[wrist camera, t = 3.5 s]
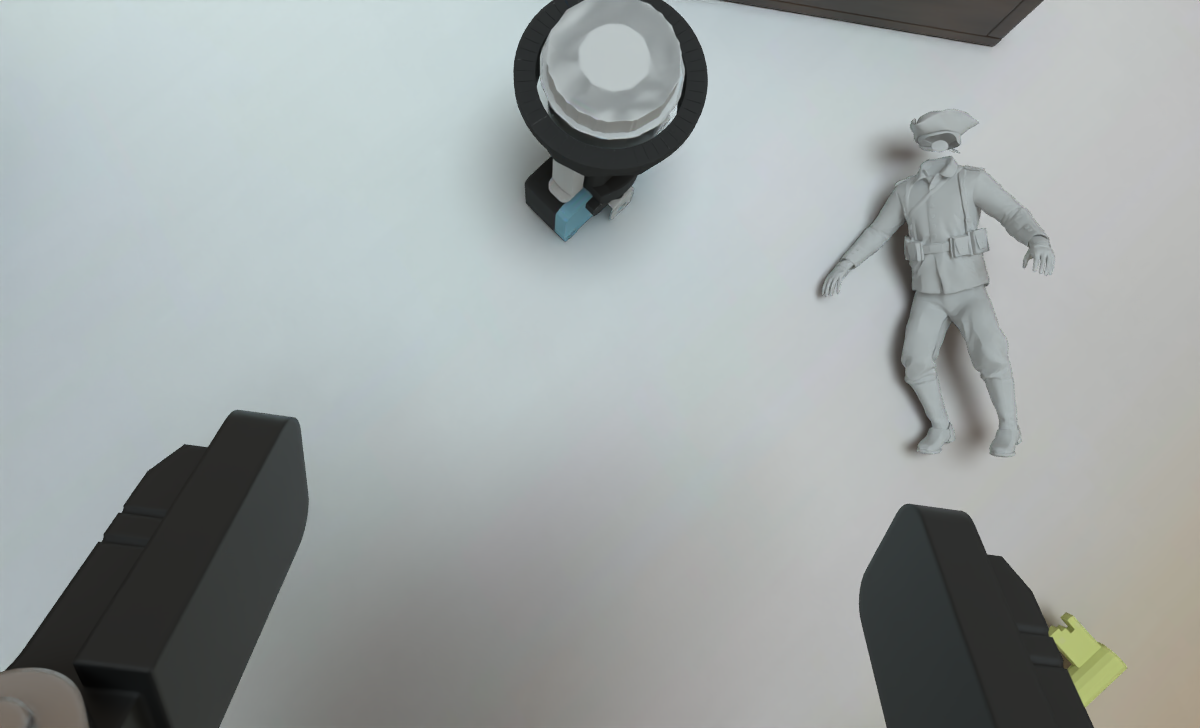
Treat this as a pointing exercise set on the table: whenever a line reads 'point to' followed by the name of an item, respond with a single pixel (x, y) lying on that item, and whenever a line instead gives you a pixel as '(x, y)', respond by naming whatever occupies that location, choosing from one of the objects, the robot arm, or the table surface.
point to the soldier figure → (951, 272)
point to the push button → (604, 100)
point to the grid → (920, 15)
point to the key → (1086, 659)
